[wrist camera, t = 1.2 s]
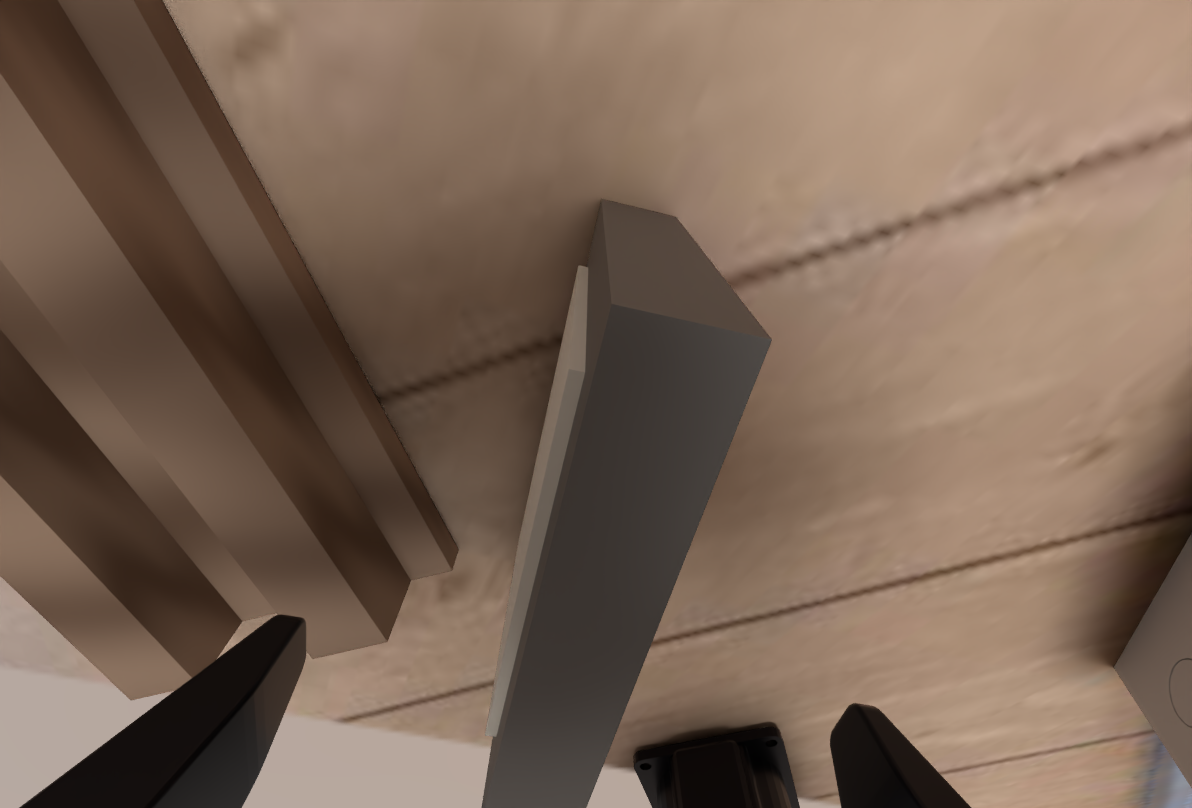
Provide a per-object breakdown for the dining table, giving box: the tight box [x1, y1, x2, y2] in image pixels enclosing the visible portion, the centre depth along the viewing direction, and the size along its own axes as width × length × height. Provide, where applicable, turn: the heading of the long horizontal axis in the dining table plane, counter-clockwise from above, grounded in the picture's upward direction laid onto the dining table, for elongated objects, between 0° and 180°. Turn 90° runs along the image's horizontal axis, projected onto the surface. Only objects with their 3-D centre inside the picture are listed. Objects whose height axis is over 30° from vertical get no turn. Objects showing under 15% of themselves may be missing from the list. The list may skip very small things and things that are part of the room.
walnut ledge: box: [0, 0, 458, 700], centre depth 15 cm, size 20×12×4 cm, turn 17°
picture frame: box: [482, 199, 772, 808], centre depth 13 cm, size 2×12×9 cm, turn 167°
